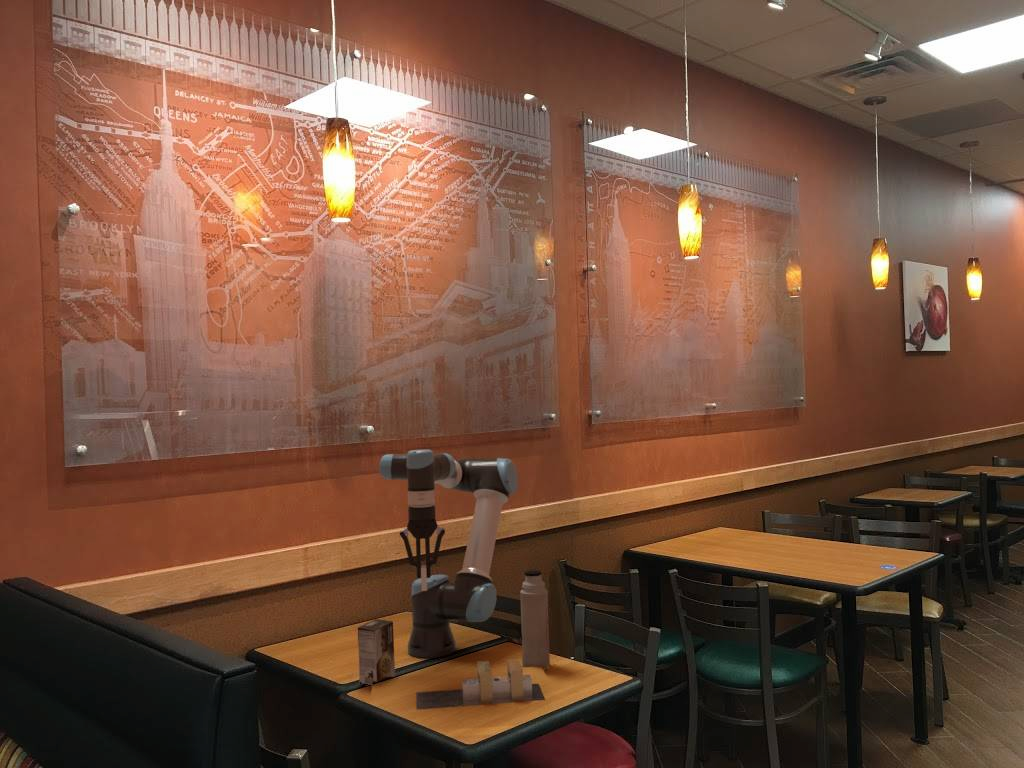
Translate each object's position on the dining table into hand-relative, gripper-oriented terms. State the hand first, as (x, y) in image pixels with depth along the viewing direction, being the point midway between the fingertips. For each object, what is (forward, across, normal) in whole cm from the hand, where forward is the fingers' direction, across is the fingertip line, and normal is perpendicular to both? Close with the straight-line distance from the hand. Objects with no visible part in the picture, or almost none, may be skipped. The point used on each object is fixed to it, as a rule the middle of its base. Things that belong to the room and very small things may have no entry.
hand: (424, 589), depth 233 cm
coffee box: (+27, -14, +6) cm, 31 cm away
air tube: (+25, +18, -16) cm, 35 cm away
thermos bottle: (+27, +32, +8) cm, 42 cm away
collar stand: (+26, +13, -16) cm, 34 cm away
